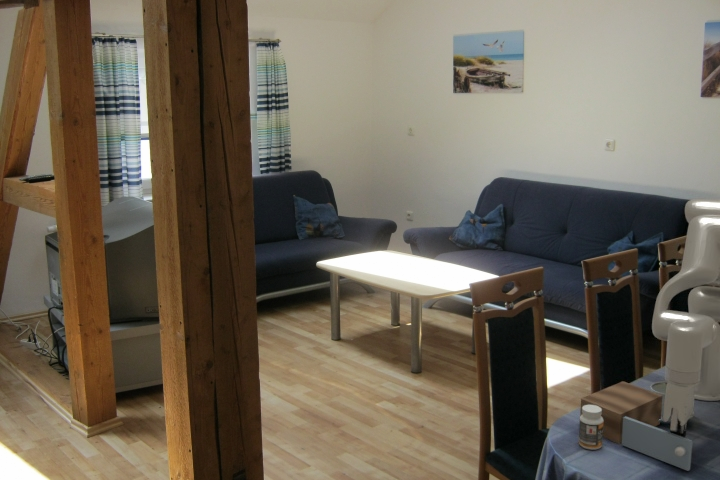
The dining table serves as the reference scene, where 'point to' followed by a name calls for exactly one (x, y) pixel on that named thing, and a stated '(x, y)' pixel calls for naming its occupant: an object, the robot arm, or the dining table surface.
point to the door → (657, 443)
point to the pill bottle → (591, 427)
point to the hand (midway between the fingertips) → (677, 445)
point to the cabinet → (624, 407)
